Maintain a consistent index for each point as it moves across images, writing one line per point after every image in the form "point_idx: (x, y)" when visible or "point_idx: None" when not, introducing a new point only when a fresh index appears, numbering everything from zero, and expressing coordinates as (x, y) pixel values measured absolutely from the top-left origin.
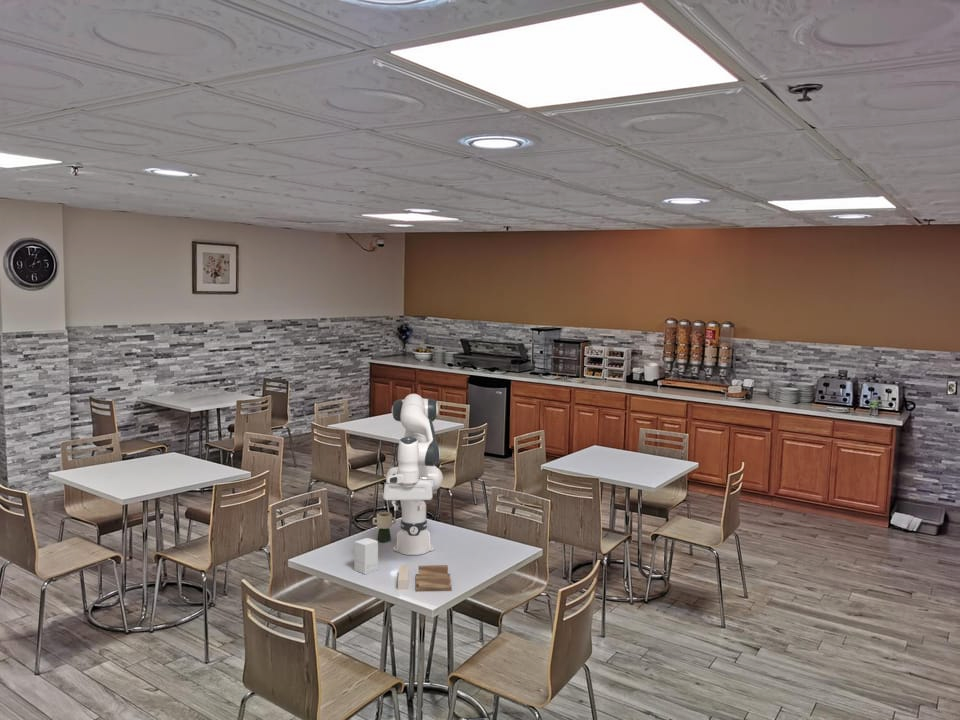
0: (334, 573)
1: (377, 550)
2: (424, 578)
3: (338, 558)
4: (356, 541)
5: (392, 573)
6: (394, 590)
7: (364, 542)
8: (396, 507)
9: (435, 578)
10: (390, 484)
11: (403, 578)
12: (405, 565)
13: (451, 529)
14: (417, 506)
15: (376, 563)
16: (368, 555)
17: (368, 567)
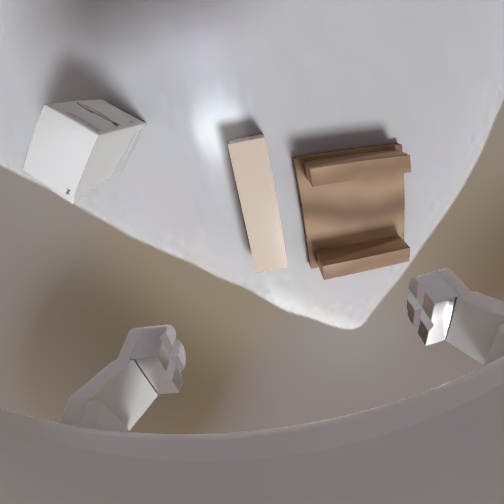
0: None
1: (116, 134)
2: (340, 275)
3: (19, 79)
4: (27, 169)
5: (203, 139)
6: (247, 267)
7: (56, 175)
8: (165, 387)
9: (372, 268)
10: None
11: (270, 258)
12: (250, 140)
13: None
14: (428, 315)
15: (134, 132)
16: (100, 175)
17: (119, 164)
